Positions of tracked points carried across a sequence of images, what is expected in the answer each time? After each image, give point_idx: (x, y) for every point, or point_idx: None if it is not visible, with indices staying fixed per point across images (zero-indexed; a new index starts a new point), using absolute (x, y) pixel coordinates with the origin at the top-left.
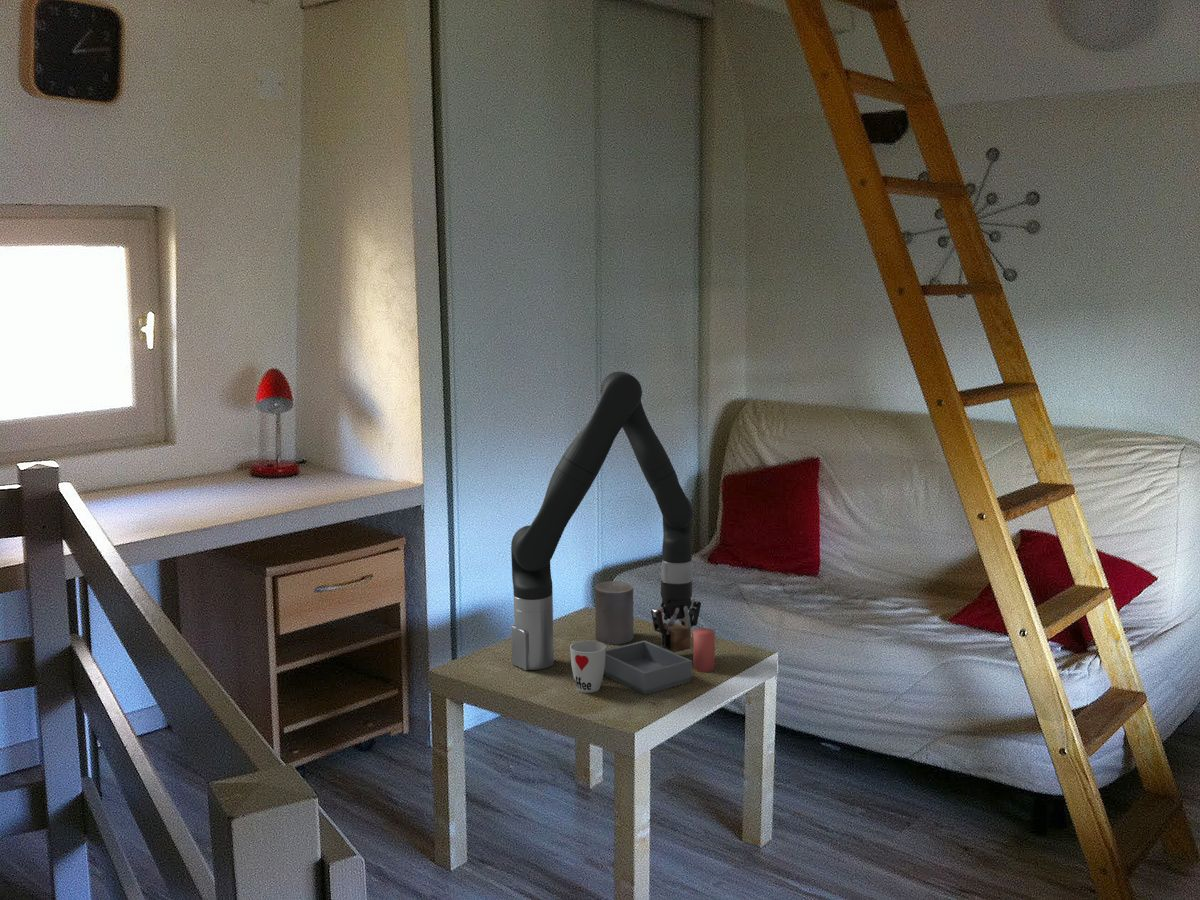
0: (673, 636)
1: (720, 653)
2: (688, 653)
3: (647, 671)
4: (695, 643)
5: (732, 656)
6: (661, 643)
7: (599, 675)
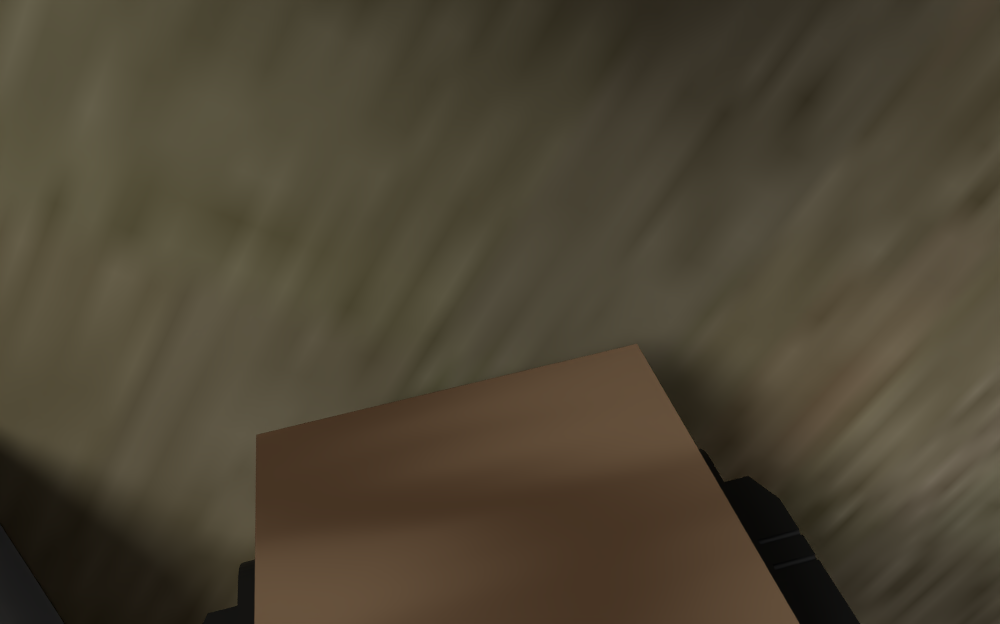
0: None
1: (982, 475)
2: (688, 359)
3: None
4: None
5: (994, 572)
6: (256, 493)
7: None
